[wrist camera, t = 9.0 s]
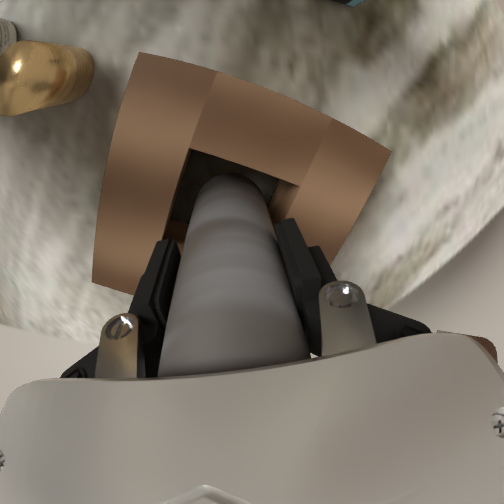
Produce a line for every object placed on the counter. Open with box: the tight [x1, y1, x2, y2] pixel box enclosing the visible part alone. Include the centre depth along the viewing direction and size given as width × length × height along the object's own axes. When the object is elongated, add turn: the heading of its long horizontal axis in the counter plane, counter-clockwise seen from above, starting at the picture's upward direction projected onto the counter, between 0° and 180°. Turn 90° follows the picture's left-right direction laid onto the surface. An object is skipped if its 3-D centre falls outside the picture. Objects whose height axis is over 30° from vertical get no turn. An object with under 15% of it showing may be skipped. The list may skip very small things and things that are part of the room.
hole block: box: [92, 52, 392, 295], centre depth 17 cm, size 14×14×4 cm
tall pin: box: [157, 173, 311, 377], centre depth 11 cm, size 4×4×12 cm
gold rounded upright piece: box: [0, 41, 94, 116], centre depth 11 cm, size 4×4×6 cm
